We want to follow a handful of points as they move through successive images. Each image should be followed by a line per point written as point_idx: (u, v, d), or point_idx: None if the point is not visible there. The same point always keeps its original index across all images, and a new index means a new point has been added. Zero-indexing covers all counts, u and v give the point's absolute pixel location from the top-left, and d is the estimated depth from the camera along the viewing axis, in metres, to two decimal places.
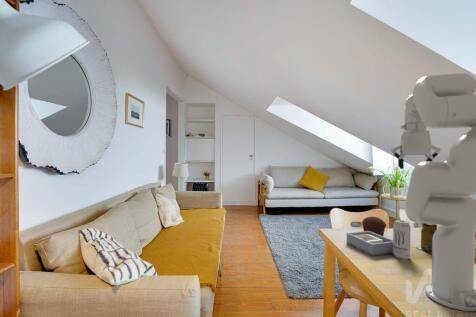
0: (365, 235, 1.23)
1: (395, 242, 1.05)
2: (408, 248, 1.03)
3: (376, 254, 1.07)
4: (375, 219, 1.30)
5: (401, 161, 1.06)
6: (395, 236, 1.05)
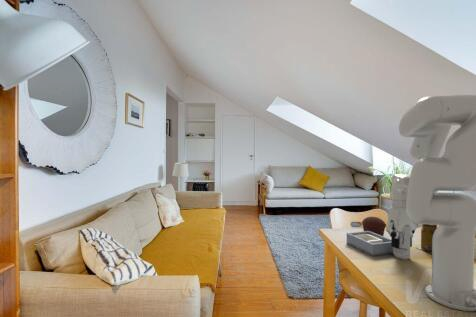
0: (365, 235, 1.23)
1: None
2: (408, 248, 1.03)
3: (376, 254, 1.07)
4: (375, 219, 1.30)
5: None
6: None
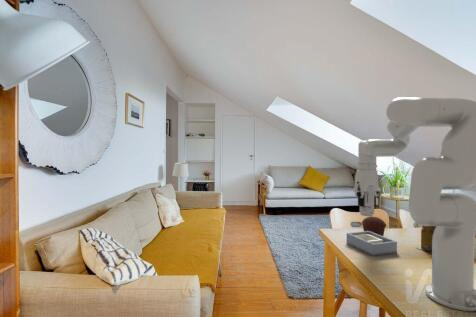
0: (365, 235, 1.23)
1: None
2: (372, 206, 1.15)
3: (376, 254, 1.07)
4: (375, 219, 1.30)
5: None
6: None
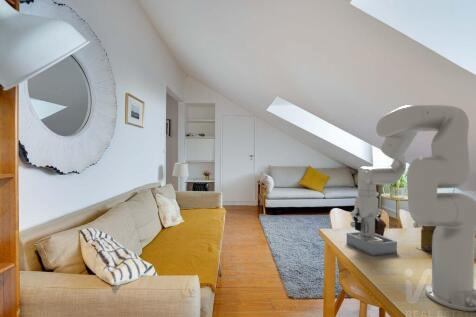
0: None
1: (361, 231, 1.17)
2: (372, 236, 1.15)
3: (376, 254, 1.07)
4: None
5: None
6: (361, 225, 1.17)
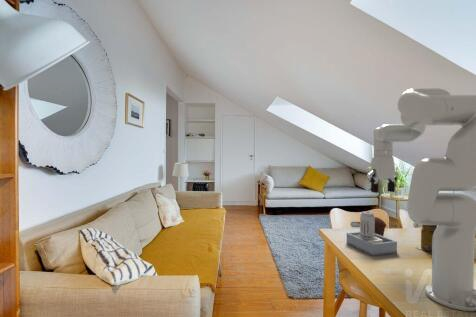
0: None
1: (361, 231, 1.17)
2: (372, 236, 1.15)
3: (376, 254, 1.07)
4: (375, 219, 1.30)
5: None
6: (361, 225, 1.17)
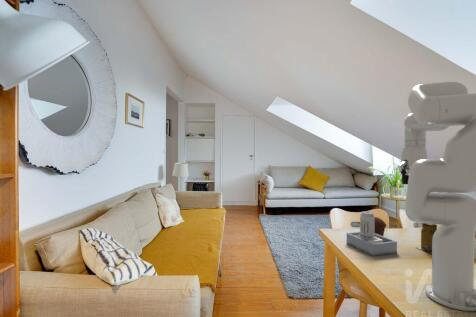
0: None
1: (361, 231, 1.17)
2: (372, 236, 1.15)
3: (376, 254, 1.07)
4: (375, 219, 1.30)
5: None
6: (361, 225, 1.17)
